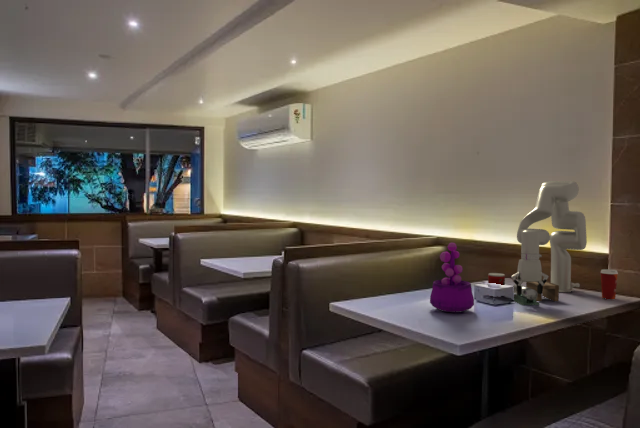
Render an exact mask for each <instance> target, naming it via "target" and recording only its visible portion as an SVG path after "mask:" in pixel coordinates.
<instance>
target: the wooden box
mask: <svg viewBox="0 0 640 428" xmlns="http://www.w3.org/2000/svg"><path fill="white" fill-rule="evenodd" d="M525 283H526V284H525V285H526V287H528V288H531V289H533V290H535V291H537V285H539V284H538V282H525ZM559 294H560V292H559V285H556V284H553V283H551V281H548V280H547V281H546V283H545V284H544V285H543V292H542V294H539V293H538V296H537V298H536V302H537V301H543V298H545V297H546V298H545V299H547V298H548V299H547V300H550V299H551V300H550V301H552V300H553V302H555V301H559V299H560V298H559V297H560V295H559ZM542 296H544V297H542ZM559 302H560V301H559Z"/></svg>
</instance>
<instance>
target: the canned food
mask: <svg viewBox="0 0 640 428" xmlns="http://www.w3.org/2000/svg"><path fill="white" fill-rule="evenodd" d="M488 283H496V284H501V285H505V286H506V284H505V283H506V275H505V274H504V273H498V272H489V273H488V275H487V284H488Z"/></svg>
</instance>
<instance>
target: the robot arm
mask: <svg viewBox="0 0 640 428" xmlns="http://www.w3.org/2000/svg"><path fill="white" fill-rule="evenodd" d="M579 190H580V188H579V185H578V183H577V182H575V181H574V180H565V181H564V180H560V181H558V180H555V181H545V182H542V183H541V185H540V188H539V190H538V192H537V197H536V200H535V204H534V208H533V209H532V210H531V211H530V212H529V213H527V214H526V215H525V216H524V217H523V218H522V219H521V220H520V222H519V225H518V229H517V231H516V232H517V233H516V240H517V242H518V243H520V244H521V246H520V247H521V248H520V249H521V251H520V256H521V257H520V258H521V259H518V263H517V264H518V265H517V269H516V270H517V271H516V273H514V274H512V275H510V277H511V280H512V282H513V283H514V285H515V284H516V285H517V294H520V295H521V294H522V286H521V285H523V283H526V282H538V284H539V285H537V293H539V294H542V292H543V285H544V284H545V283H546V281H547V282H548V279H549V277H550V283H553V284H556V285H559V293H572V292H571V291H573V292H574V291H575V289H574V288H580V285H581V284H580V283H579V282H576V283H574V282H572V281H571V280H572V279H571V277H572V276H571V275H572V257H571V255H570V253H569V252H568V251H567V250H571V251H572V250H574V251H576V250H577V251H583V250H584V249H586V248H587V241H588V240H587V221H586V216H585V214H584V213H583V212H581V211H577V210H576V211H575V210H574V211H573V210H572V211H570V209H569V202H571V201H572V200H574V199H575V198H576V197H577V196H578V194H579ZM549 218H550V219H551V225H552V227H553V228H554V229H556V230H555V231H552V232H551V233H549V231H547V229H542V228H530V226H532V225H533V224H536V223H538V222H540V221H544V220H546V219H549ZM569 230H570V231H569ZM571 230H573V231H571ZM548 243H549V245H550V276H549V275H548V274H547V273H544V272H542V271H543V270H542V263H541V260H540V258H543V257H542V254H541V253H540V246H545V245H547V244H548Z"/></svg>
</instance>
